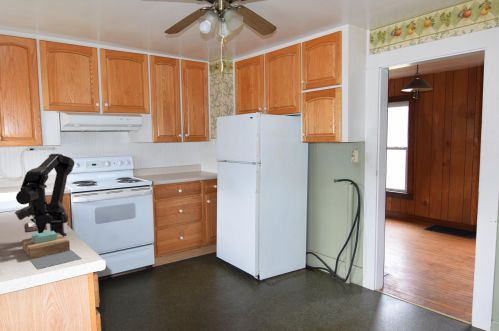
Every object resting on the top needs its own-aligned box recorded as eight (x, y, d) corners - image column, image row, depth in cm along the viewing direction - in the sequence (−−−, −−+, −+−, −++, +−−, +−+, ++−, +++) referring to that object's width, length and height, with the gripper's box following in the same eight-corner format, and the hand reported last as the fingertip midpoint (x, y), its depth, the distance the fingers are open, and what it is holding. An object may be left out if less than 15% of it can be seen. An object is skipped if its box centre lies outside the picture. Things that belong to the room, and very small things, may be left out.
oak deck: (22, 249, 149) (22, 239, 149) (59, 241, 158) (58, 232, 158) (31, 259, 137) (30, 249, 137) (69, 250, 147) (69, 241, 146)
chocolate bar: (26, 231, 174) (25, 223, 188) (26, 233, 174) (25, 225, 189) (47, 228, 178) (44, 220, 193) (47, 230, 179) (44, 222, 193)
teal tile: (32, 240, 148) (31, 234, 147) (53, 236, 153) (53, 230, 153) (35, 243, 143) (35, 237, 143) (57, 239, 149) (56, 233, 148)
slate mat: (29, 259, 137) (29, 259, 137) (71, 250, 147) (71, 250, 147) (37, 269, 127) (37, 269, 127) (81, 258, 137) (81, 258, 137)
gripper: (11, 199, 153) (14, 234, 155) (20, 205, 140) (23, 244, 141) (40, 195, 161) (43, 229, 162) (51, 201, 147) (54, 238, 149)
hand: (40, 234), depth 154 cm, fingers closed
